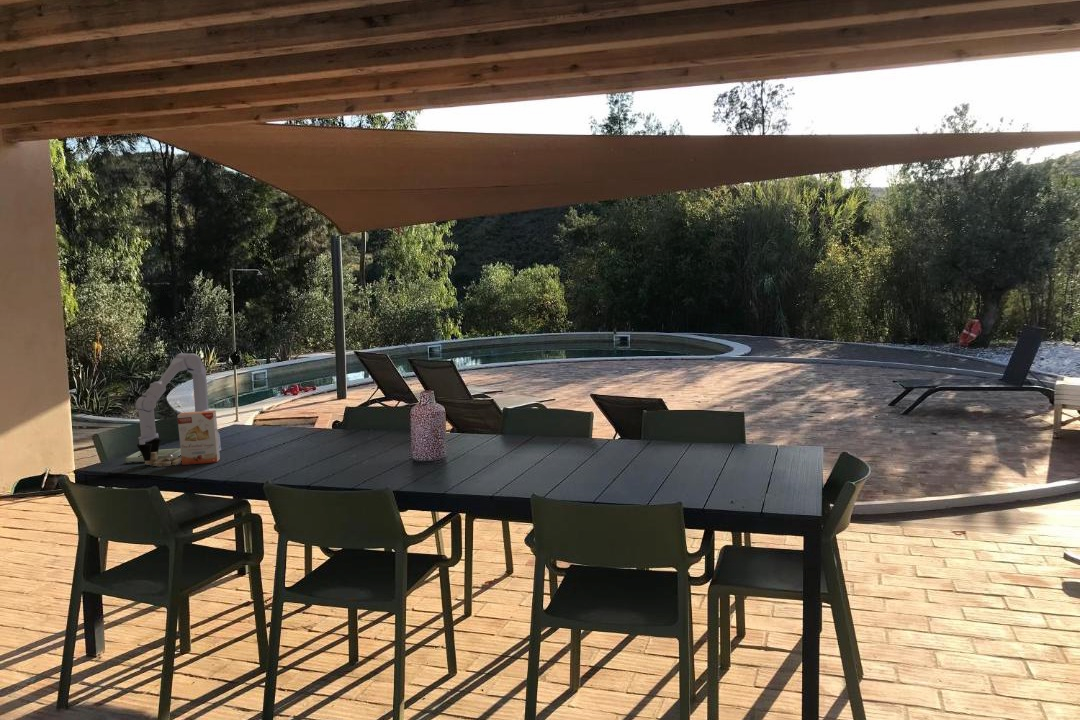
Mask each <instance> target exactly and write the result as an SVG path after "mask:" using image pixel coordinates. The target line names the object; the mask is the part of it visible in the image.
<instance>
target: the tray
mask: <svg viewBox="0 0 1080 720" xmlns="http://www.w3.org/2000/svg"><path fill="white" fill-rule="evenodd" d="M171 451H173V454H172V457H173V458H177V457H178V456H180V455H181V449H180V447H179V448H168V449H167V448H164V449H159V450H158V460H159V459H161V458H165V459H166V458H167V456H166V453H168V452H171ZM140 455H142V453H141V451H140V450H139V451H137V452H134V453H131V455H128V456H126V457H125V458H124V459H125V463H126V462H129V461H144V458H143V456H140ZM138 456H140V457H138ZM180 457H181V456H180ZM178 458H179V457H178ZM165 462H166V460H165Z"/></svg>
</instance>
